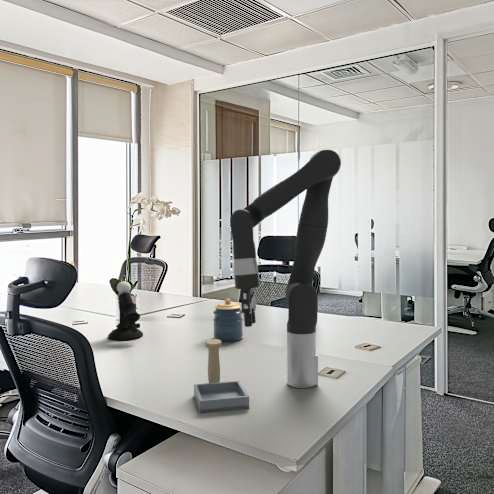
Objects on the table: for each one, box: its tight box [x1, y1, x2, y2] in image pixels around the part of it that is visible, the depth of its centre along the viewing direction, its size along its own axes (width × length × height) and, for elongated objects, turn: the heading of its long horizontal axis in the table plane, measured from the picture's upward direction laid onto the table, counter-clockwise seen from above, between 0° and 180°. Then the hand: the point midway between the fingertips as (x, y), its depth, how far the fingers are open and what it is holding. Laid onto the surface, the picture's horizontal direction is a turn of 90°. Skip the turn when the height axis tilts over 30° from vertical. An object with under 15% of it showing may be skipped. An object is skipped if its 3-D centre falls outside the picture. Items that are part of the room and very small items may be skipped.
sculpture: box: [107, 280, 144, 342], centre depth 224 cm, size 15×24×25 cm, turn 28°
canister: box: [212, 298, 244, 343], centre depth 223 cm, size 13×13×18 cm
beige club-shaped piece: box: [205, 338, 222, 383], centre depth 161 cm, size 5×6×15 cm
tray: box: [193, 380, 250, 414], centre depth 149 cm, size 14×14×4 cm
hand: (250, 324), depth 159 cm, fingers open, 8 cm apart
